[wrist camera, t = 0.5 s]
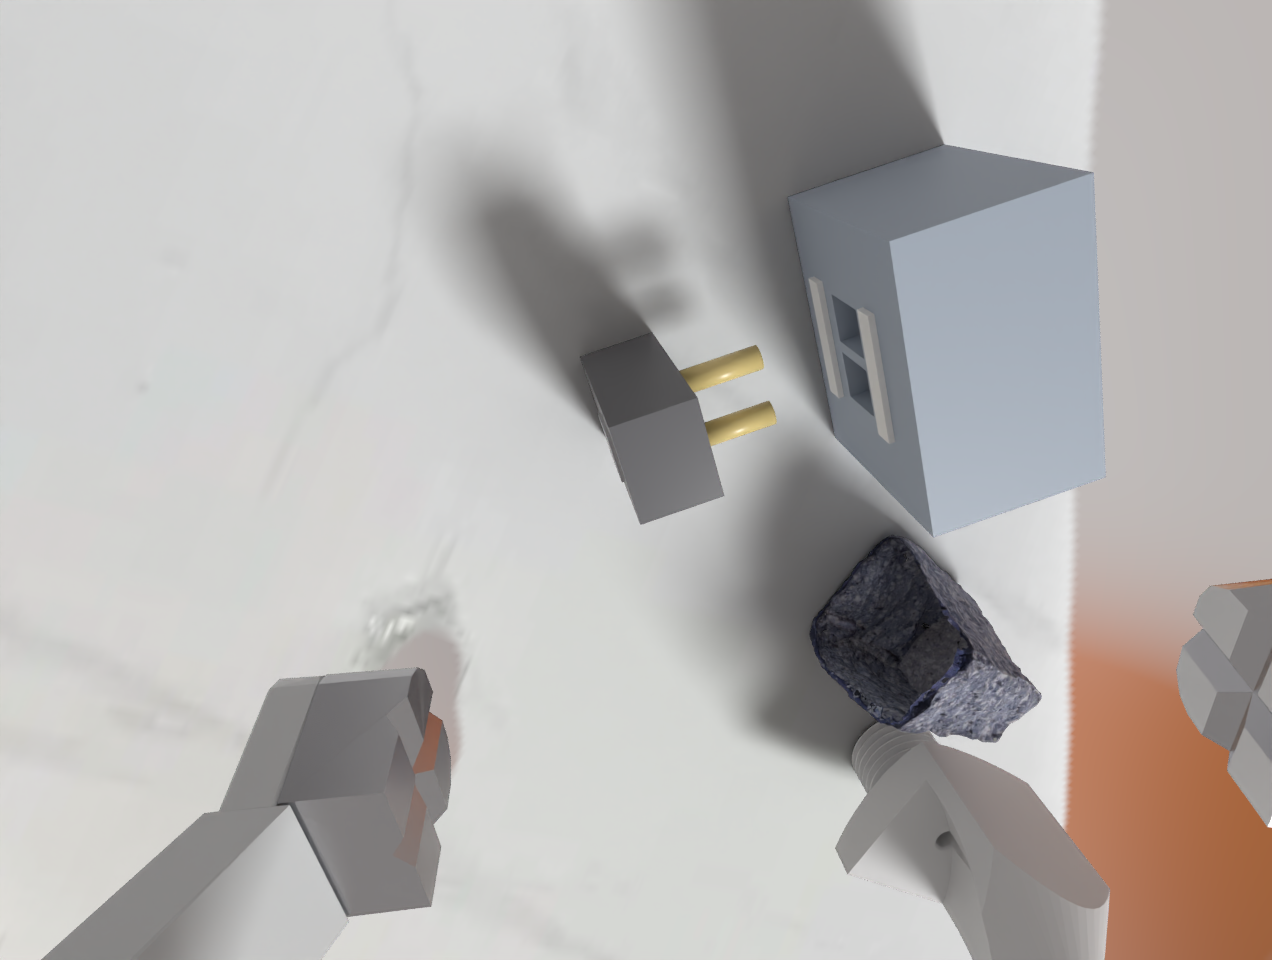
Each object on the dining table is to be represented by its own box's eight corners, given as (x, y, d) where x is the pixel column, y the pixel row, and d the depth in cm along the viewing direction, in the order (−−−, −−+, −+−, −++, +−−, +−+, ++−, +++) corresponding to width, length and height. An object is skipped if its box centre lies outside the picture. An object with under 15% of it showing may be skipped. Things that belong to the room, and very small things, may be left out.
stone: (777, 592, 58) (894, 500, 53) (875, 630, 63) (990, 549, 58) (832, 766, 50) (977, 676, 45) (940, 792, 55) (1080, 715, 50)
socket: (781, 198, 45) (882, 244, 35) (944, 144, 45) (1093, 172, 35) (830, 439, 52) (927, 539, 41) (972, 390, 52) (1105, 477, 41)
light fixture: (878, 676, 60) (1055, 938, 42) (977, 718, 63) (1179, 977, 46) (801, 776, 63) (937, 1062, 45) (899, 811, 66) (1062, 1090, 48)
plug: (577, 357, 47) (605, 429, 38) (723, 308, 47) (785, 367, 38) (604, 440, 49) (637, 525, 40) (744, 392, 49) (807, 467, 41)
